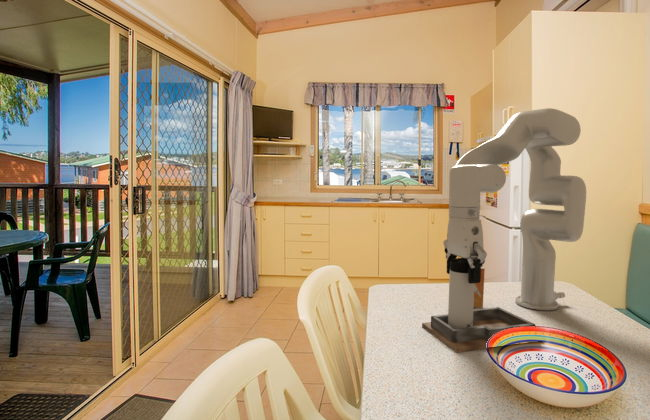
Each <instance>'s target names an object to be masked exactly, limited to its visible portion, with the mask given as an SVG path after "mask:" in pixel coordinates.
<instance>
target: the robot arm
mask: <svg viewBox="0 0 650 420" xmlns="http://www.w3.org/2000/svg"><path fill="white" fill-rule="evenodd" d="M580 135H581V124H580V121H579V120H578V119H577V118H576V117H575V116H573V115H571V114H569V113H567V112H564V111H562V110H560V109H556V108H549V107H548V108H541V109H533V110H532V109H531V110H525V111H520V112H517V113H515V114H513V115H512V116H511V117H510V118H509V120H508V121H507V122H506V123H505V124H504V125H503V127H502V128H501V129H500V130H499V132H498V133H497V134H496V135H495V136H494V137H493V138H491V139H489V140H487V141H486V142H483V143H482V144H480V145H479V146H476V147H474V148H473V149H470V150H469V151H468V152H466V153H465V154H464V155H463V156H461V158H460V159H459V160H457V162H456V163H455V165H453V166H451V168H450V169H449V176H448V177H449V178H448V179H449V180H448V181H449V182H448V183H449V185H448V188H449V189H448V223H447V232H446V233H447V234H446V239H445V240H443V242H442V244H443V246H444V253H445V259H446V274H447V275H450V261H451V260H452V259H456V258H465V259H467V260H468V262H469V265H470V268H469V269H468V283H470V284H472V283H480V282H481V268H482V267H483V265H484V264H485V262H486V259H487V256H488V254H487V252H486V250H485V249H484V231H483V224H482V220H481V219H480V217H481V216H480V215H481V214H480V209H481V208H480V207H481V202H480V201H481V194H483V193H484V194H485V193H489V194H492V193H496V192H498V191H500V190H501V189H503V188H504V186H505V184H506V180H507V175H506V172H505V170H504V169H503V168H502V167H501V166H499V165H503V164H507V163H509V162H512V161H514V160H516V159H518V158H519V157H520V155H521V154H522V153H523V152H524V150H525V151H526V152H527V155H528V157H529V160H530V171H529V181H528V182H529V183H528V198H529V201H530V202H531V203H533V204H536V205H542V206H556V207H563V209H564V210H557V209H556V210H555V209H545V208H533V209H528V210H526V211H524V212H523V214H522V215H521V216H520V217H521V218H520V229H521V235H522V259H521V260H522V261H521V263H522V264H521V281H520V283H521V284H520V285H521V286H520V295H519V296H516V297H515V303H516V304H517V305H518V306H521V307H524V308H527V309H531V310H538V311H556V310H558V309H559V306H560V303H558V301H557V300H558V299H564V298H565V297H566V294H565V292H563V291H559V292H557V291H555V275H556V261H557V260H556V257H557V256H556V254H557V253H556V250H555V248H554V246H553V244H552V242H551V241H557V242H567V243H573V242H577V241H579V240H580V239H581V237H582V236H583V231H584V226H585V225H584V224H585V214H586V205H587V204H586V203H587V186H586V183H585V180H583V178H581V177H580V176H576V175H561V167H562V166H561V165H562V160H561V157H560V155H559V153H558V152H557V151H556V149H554V148H553V147H561V146H562V147H563V146H564V147H565V146H570V145H573V144H575V143H576V142H577V141H578V140H579V139H580ZM472 259H475V262H473V260H472ZM483 268H484V267H483Z"/></svg>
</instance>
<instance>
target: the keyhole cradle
mask: <svg viewBox="0 0 650 420" xmlns="http://www.w3.org/2000/svg"><path fill="white" fill-rule="evenodd" d="M421 326H422V328H423V329H425V330H426V331H427V332H429V333H430V334H432V335H433V336H434V337H435V338H437V339H438V340H440V341H441V342H443V344H445V345H446V346H448V347H449V348H450V349H451V350H453V351H454V352H456V353H462V352H463V353H464V352H471V351H478V350H485V349H486V343H487V341H488V339H489V338H490V337H491V336H492V335H493V334H495V333H497V332H499V331H501V330H504V329H508V328H513V327H520V326H535V327H536V324H535V323H534V322H531V321H529V320H527V319H524V318H522V317H521V316H518V315H516V314H514V313H512V312H510V311H507V310H505V309H504V308H501V307H499V306H498V307H497V306H496V307H486V308H479V309H473V327H471V328H462V329H454V328H452V327H451V326H449V325H448V313H447V314H438V315H431V316H430V321H429V322H422V323H421Z"/></svg>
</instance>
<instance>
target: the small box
mask: <svg viewBox="0 0 650 420" xmlns="http://www.w3.org/2000/svg"><path fill="white" fill-rule="evenodd" d="M485 271H486V270H485V267H482V268H481V282H480V283H474V308H483V307H484V292H485V291H484V289H485V288H484V287H485Z"/></svg>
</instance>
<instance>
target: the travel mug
mask: <svg viewBox="0 0 650 420" xmlns="http://www.w3.org/2000/svg"><path fill="white" fill-rule="evenodd" d="M472 260H473V262H475V259H472ZM469 268H470V265H469V262H468V260H467V259H465V258H462V257H457V258H456V259H452V260H451V261H450V274H448V276H449V280H448V281H449V283H448V308H447V310H448V312H447V314H448V325H449V326H451V327H452V328H454V329H462V328H471V327H473V310H474V308H475V307H474V283H472V284H470V283H468V269H469Z"/></svg>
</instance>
